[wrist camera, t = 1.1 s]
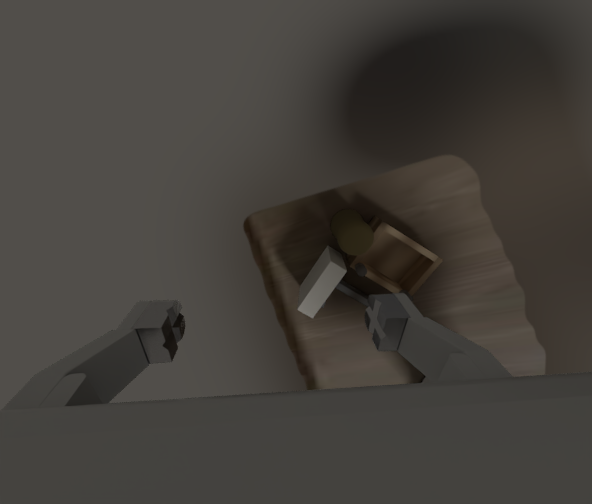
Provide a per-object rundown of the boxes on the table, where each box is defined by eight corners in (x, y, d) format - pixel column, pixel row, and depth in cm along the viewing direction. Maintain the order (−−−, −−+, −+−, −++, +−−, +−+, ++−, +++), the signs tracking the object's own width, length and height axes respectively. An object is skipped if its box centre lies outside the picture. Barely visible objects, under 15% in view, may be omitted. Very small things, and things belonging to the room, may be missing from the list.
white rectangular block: (327, 245, 46) (330, 261, 37) (345, 256, 46) (352, 274, 37) (300, 286, 48) (297, 309, 40) (317, 295, 49) (317, 321, 40)
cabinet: (428, 250, 44) (450, 264, 37) (379, 309, 49) (390, 331, 41) (374, 215, 43) (386, 223, 36) (329, 279, 47) (331, 297, 40)
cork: (325, 235, 45) (329, 253, 34) (337, 204, 43) (344, 213, 33) (356, 245, 45) (369, 266, 35) (369, 214, 43) (386, 227, 33)
